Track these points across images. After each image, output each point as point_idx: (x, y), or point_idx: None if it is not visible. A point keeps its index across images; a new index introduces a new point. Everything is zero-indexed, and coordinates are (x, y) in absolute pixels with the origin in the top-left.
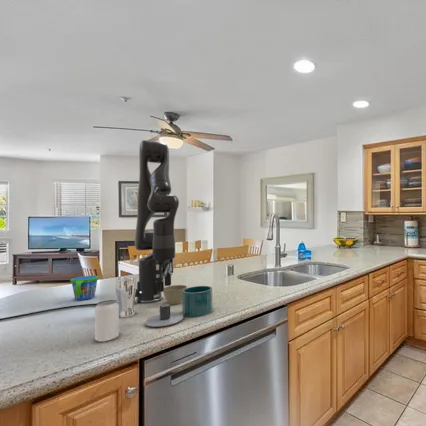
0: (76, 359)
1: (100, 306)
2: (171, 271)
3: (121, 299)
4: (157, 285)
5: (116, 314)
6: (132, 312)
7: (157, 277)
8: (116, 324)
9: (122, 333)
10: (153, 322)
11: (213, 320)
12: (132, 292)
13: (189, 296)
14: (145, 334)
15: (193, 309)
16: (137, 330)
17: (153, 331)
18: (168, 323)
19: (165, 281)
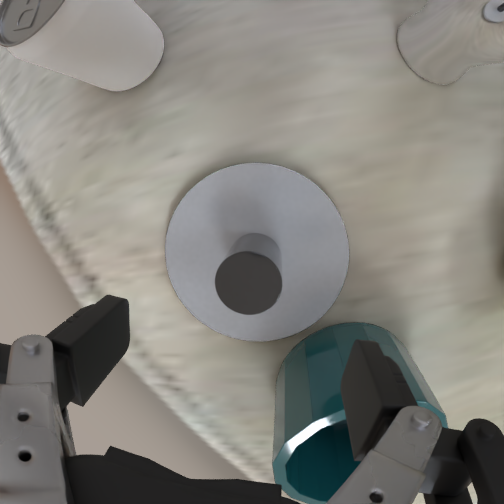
0: (14, 62)
1: (8, 2)
2: (431, 492)
3: None
4: (56, 330)
5: (49, 68)
6: (426, 71)
7: (12, 380)
8: (78, 79)
9: (158, 91)
10: (209, 209)
11: (206, 427)
12: (479, 34)
13: (285, 428)
14: (115, 197)
15: (278, 393)
16: (173, 145)
17: (139, 223)
18: (173, 285)
19: (364, 371)
